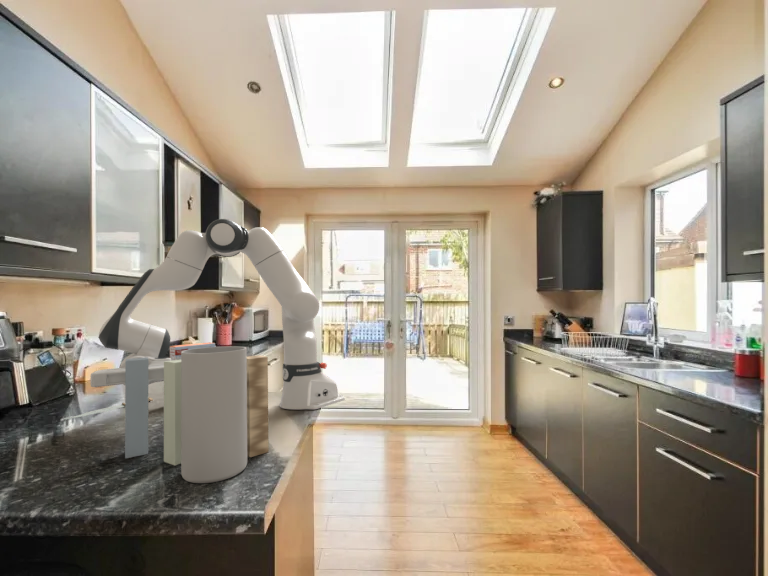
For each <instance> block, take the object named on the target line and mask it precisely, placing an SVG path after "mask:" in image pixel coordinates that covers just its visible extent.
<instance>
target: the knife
mask: <svg viewBox="0 0 768 576" xmlns="http://www.w3.org/2000/svg"><path fill="white" fill-rule="evenodd" d="M149 401H153V402H154V398H153V397H149V396H148V403H150V402H149ZM123 408H124V409H125V402H122V403H121V404H117V405H113V406H110V407H109V406H108V407H105V408H99V409H95V410H92V411H90V410H89V411H87V412H84V413H81V414H78V415H75V416H69V417H65V418H64V420H67V419H74V418H80V417H82V418H83V417H85V416H91V415H95V414H101V413H106V412H111V411H115V410H120V409H123ZM60 420H63V418H61V419H60Z"/></svg>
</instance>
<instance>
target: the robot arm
mask: <svg viewBox="0 0 768 576" xmlns="http://www.w3.org/2000/svg"><path fill="white" fill-rule="evenodd" d="M241 253H242V254H244V255H245V256H246V257H247V258H248V260H249V261H250V262H251V263H252V265H253V267H254V268H255V270H256V272H257V273H258V274H259V277H260V278H261V279H262V280H263V282H264V283H265V286H266V287H267V289H268V290H269V291H270V292H271V293H272V295H273V296H274V298H275V299H276V300H277V301H278V303H279V304H280V306H281V323H282V336H283V363H282V379H283V383H282V393H281V399H280V401H279V407H280V408H281V409H285V410H317V409H321V408H324V407H328V406H331V405H334V404H338V403H340V402H343V401H346V400H345V396H344V395H342V394H339V390H338V385H337V383H336V382H335V380H333V379H332V378H330V377H329V376H327V375H326V374H325V373H324V372H322V369H324V370H325V369H327V367H328V364H327V362H318V359H317V358H318V355H317V354H318V353H317V352H318V350H317V335H316V330H315V320H314V319H315V318H316V316H317V315H318V314H319V311H320V302H319V300H318V297H317V296H316V295H315V293H314V291H312V289H311V288H310V287H309V285H308V284H307V283H306V281H305V280H304V278H303V277H302V276H301V275H300V273H299V272H298V271H297V270H296V268H295V266H294V265H293V263H292V262H291V259H289V257H288V255H287V254H286V252H285V251H284V248H283V247H282V246H281V245H280V243H279V242H278V240H277V239H276V238H275V237H274V235H272V233H271V232H270V231H269V230H268V229H267V228H266V227H261V226H259V227H253V228H251V229H249V230H247V228H245V227H244V226H242V225H240V224H238V223H236V222H235V221H233V220H230V219H229V218H220V219H215V220H213V221H212V222H211V223H209V224H208V226H207V228H206V230H205V232H200V231H198V230H192V229H189V230H188V229H187V230H184V231H182V232H180V234H179V235H178V237H177V238H176V239H175V241H174V242H173V244H172V245H171V247H170V249H169V251H168V253H167V254H166V257H165V259H164V260H163V262H161V264H160V265H158V266H157V267H156V268H149V269H148V270H146V271H145V272H144V273H143V274H142V275H141V277H139V279H138V280H137V282H136V283H135V284H134V285H133V286H132V288H131V289H130V291H129V292H128V293H127V295H126V296H125V297H124V298H123V300H122V302H121V303H120V305H118V307H117V309H116V310H115V312H113V313H112V315H111V316H110V317H108V319H107V320H105V322H104V323H103V324H102V326H101V328H100V329H99V332H98V336H97V337H98V340H99V341H100V343H101V344H102V346H103V347H104V348H105V349H111V350H116V351H117V350H118V351H123V352H127V353H130V354H128V356H126V357H124V359H123V360H122V361H121V363H120V366H119V368H117V367H116V368H104V369H98V370H96V371H94V372H92V373H91V374H90V379H89V380H90V387H92V388H103V387H110V386H111V387H112V386H118V385H119V386H120V385H124V386H125V369H126V359H132V358H145V357H148V386H149V385H151V384H154V383H159V382H164V361H171V358H170V357H166V356H167V353H168V350H169V349H170V346H171V336H170V333H169V330H168V329H167V328H164V327H161V326H158V325H154V324H150V323H147V322H143V321H140V320H138V319H137V320H136V319H133V318H132V317H131V316H132V314H133V313H134V311H135V310H136V308H137V307H138V305H140V303H141V301H142V300H143V298H144V297H145V296H146V295H147V294H149V293H152V292H159V291H169V292H170V291H174V292H175V291H176V292H177V291H184V290H188V289H190V288H192V287H193V286H195V284H196V283H197V282H198V280H199V279H200V276H201V274H202V272H203V270H204V268H205V265H206V264H207V261H208V260H209V258H210V257H212V256H215V257H216V256H217V257H222V258H223V257H225V258H231V257H235V256H237V255H238V254H241Z"/></svg>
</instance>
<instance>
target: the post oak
mask: <svg viewBox="0 0 768 576" xmlns="http://www.w3.org/2000/svg"><path fill="white" fill-rule="evenodd" d="M268 357H269V356H265V355H259V354H258V355H247V458H248V457H249V458H252V457H256V456H259V455H260V456H261V455H262V454H267V453H269V451H270V447H269V445H270V444H269V442H270V441H269V439H270V438H269V364H268V362H269V361H268V359H269V358H268Z"/></svg>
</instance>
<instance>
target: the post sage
mask: <svg viewBox="0 0 768 576" xmlns="http://www.w3.org/2000/svg"><path fill="white" fill-rule="evenodd" d="M163 462H164V463H166V464H170V465H172V466H179V465H181V359H179V360H172V361H164V381H163Z"/></svg>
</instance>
